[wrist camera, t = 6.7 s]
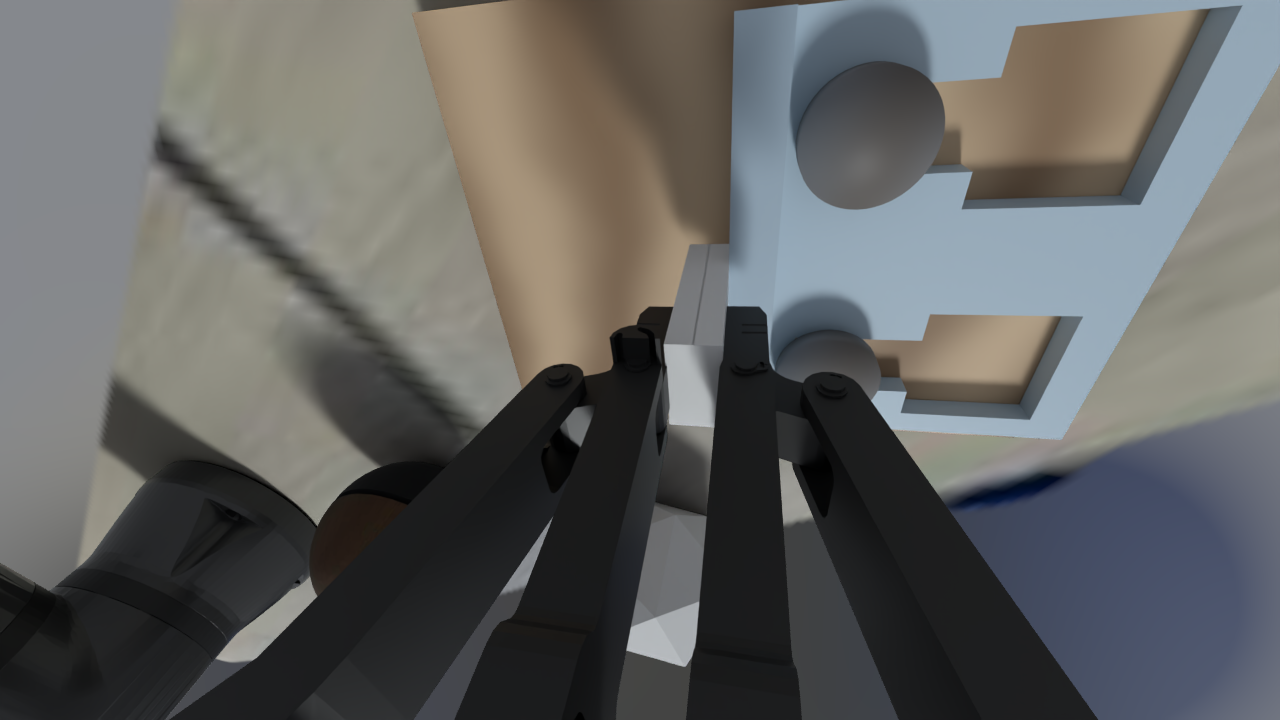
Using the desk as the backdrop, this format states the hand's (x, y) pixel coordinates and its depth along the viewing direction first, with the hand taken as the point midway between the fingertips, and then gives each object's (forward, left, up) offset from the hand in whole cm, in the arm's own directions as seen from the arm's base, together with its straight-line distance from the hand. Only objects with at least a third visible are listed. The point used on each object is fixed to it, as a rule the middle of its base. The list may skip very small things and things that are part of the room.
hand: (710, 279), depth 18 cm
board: (+2, 0, -4) cm, 4 cm away
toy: (-19, -18, -4) cm, 26 cm away
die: (-3, -20, -4) cm, 20 cm away
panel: (+8, 0, -2) cm, 8 cm away
